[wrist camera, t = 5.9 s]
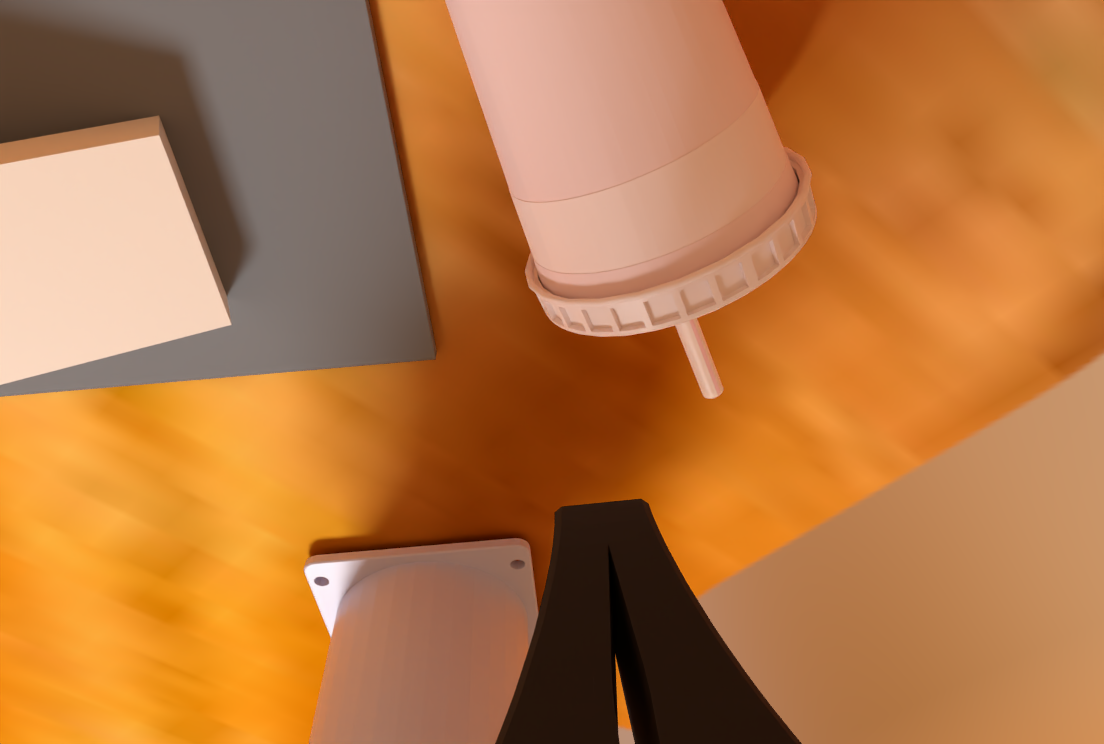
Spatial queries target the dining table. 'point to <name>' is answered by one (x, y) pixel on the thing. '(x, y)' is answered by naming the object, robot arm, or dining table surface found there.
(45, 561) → the dining table surface
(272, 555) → the dining table surface
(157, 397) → the dining table surface
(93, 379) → the runner mat
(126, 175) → the domino
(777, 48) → the dining table surface
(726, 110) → the smoothie
